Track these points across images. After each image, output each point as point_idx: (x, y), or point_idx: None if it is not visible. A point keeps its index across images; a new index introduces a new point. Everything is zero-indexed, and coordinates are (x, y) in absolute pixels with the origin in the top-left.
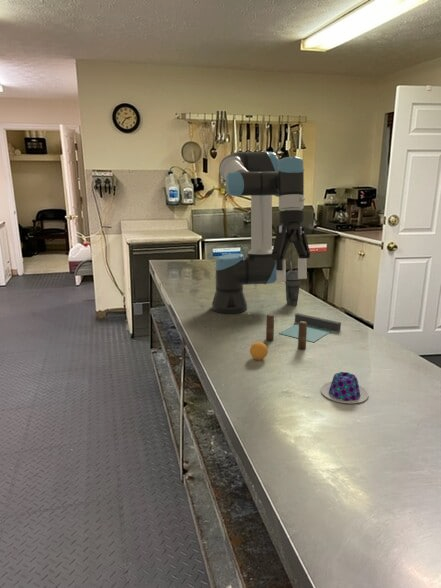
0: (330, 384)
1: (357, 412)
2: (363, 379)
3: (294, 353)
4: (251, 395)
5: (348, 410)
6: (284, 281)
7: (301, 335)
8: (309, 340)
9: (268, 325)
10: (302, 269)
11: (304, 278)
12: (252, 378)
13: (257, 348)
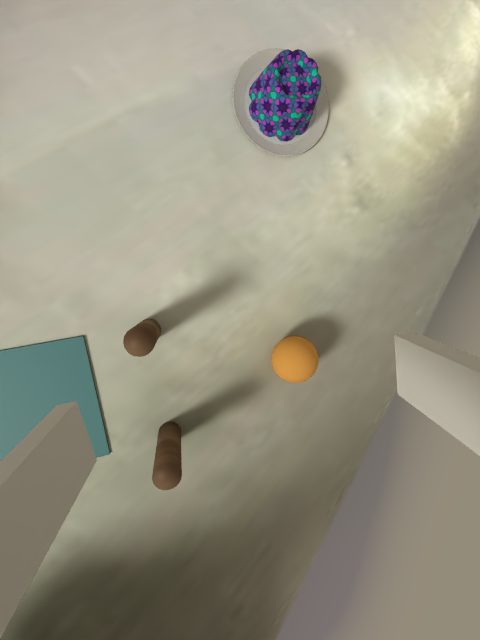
0: (272, 147)
1: (328, 46)
2: (190, 101)
3: (193, 320)
4: (412, 242)
5: (333, 64)
6: (412, 332)
7: (156, 329)
8: (83, 352)
9: (180, 452)
10: (42, 483)
11: (78, 412)
12: (364, 291)
13: (315, 351)
